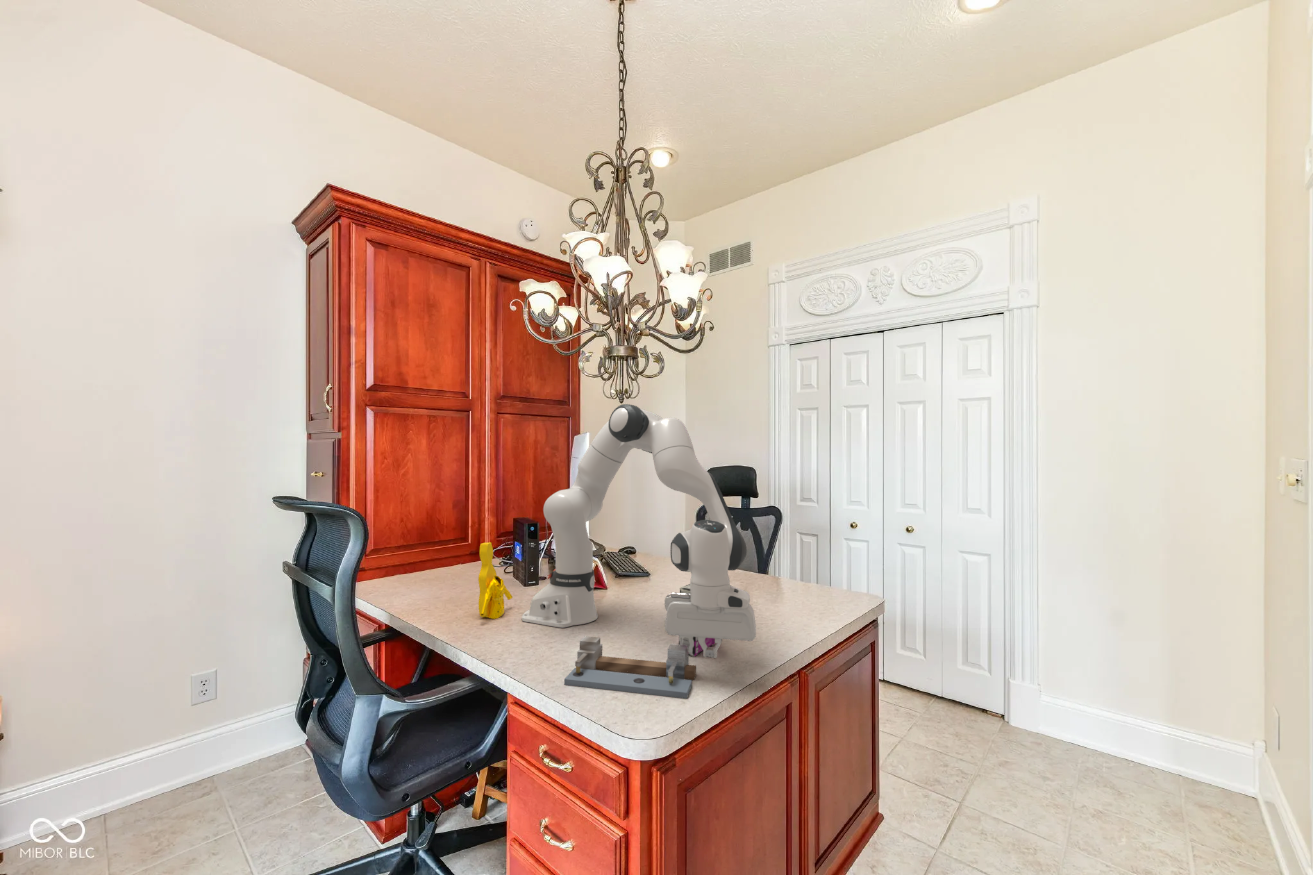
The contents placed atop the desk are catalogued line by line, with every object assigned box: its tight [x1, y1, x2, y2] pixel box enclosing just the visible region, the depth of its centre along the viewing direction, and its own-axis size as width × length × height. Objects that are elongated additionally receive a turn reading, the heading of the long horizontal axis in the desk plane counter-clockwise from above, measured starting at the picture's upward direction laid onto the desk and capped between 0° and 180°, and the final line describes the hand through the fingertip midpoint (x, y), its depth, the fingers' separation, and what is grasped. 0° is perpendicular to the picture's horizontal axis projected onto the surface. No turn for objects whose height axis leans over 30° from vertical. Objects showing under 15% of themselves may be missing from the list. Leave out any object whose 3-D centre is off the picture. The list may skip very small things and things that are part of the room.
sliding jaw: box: [665, 643, 690, 683], centre depth 118 cm, size 4×11×6 cm, turn 167°
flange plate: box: [563, 667, 693, 700], centre depth 116 cm, size 27×6×1 cm, turn 77°
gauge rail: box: [574, 635, 697, 681], centre depth 121 cm, size 27×11×6 cm, turn 77°
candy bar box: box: [678, 583, 716, 658], centre depth 137 cm, size 11×5×16 cm, turn 146°
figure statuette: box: [477, 542, 514, 620], centre depth 163 cm, size 18×8×22 cm, turn 167°
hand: (710, 656), depth 119 cm, fingers closed
